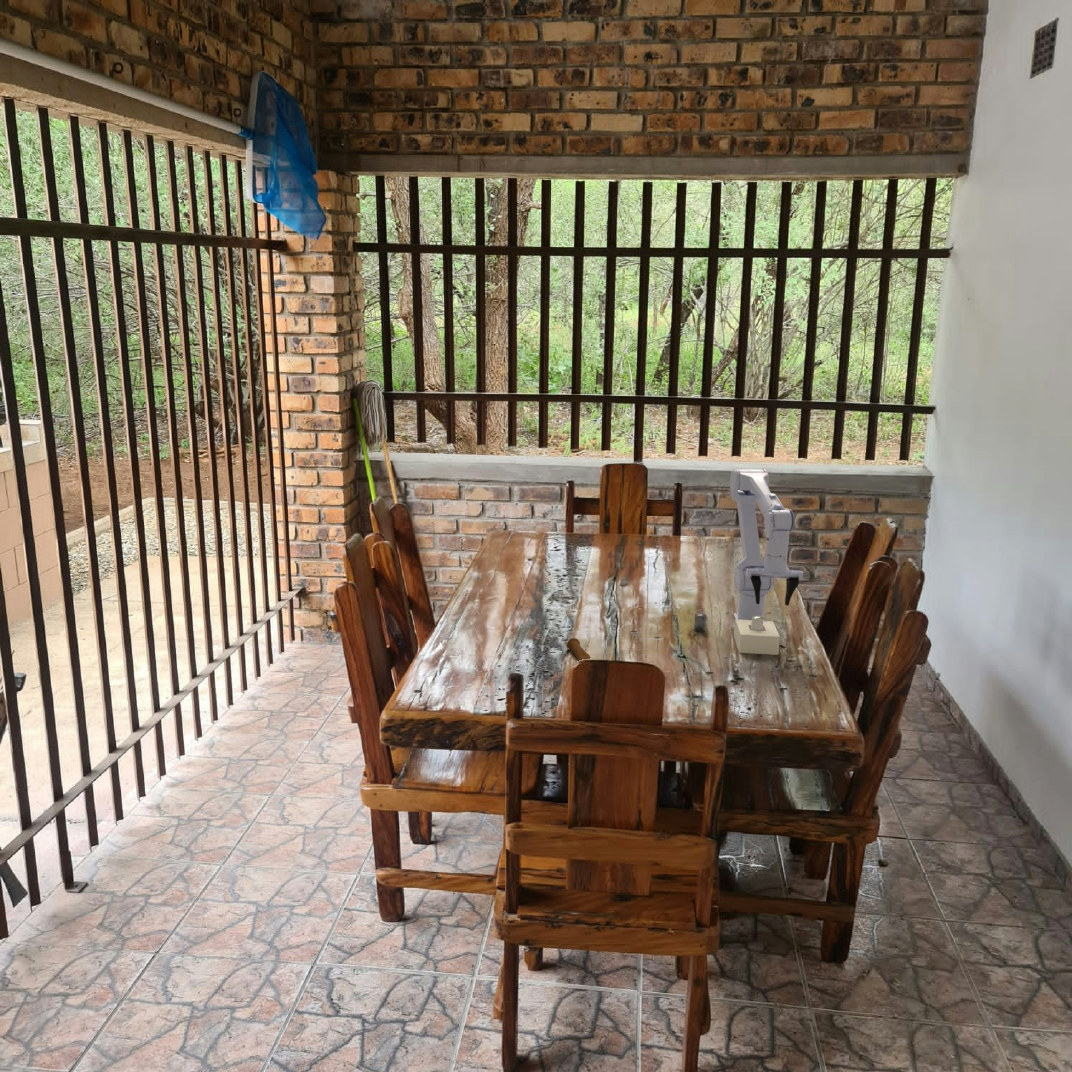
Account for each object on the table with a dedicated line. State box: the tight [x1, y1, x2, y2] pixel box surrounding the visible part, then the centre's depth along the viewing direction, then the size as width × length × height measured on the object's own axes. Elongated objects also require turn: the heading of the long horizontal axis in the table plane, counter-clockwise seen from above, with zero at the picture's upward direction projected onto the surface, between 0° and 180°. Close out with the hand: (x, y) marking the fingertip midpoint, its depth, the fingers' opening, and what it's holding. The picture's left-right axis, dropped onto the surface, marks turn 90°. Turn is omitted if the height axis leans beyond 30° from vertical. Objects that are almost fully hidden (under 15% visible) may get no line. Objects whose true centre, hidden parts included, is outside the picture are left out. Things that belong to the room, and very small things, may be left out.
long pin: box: [751, 615, 765, 631], centre depth 254 cm, size 3×3×8 cm
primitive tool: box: [566, 637, 592, 661], centre depth 240 cm, size 19×6×4 cm, turn 19°
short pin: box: [693, 612, 707, 633], centre depth 265 cm, size 3×3×4 cm
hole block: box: [733, 618, 781, 656], centre depth 254 cm, size 12×10×5 cm
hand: (772, 603), depth 256 cm, fingers open, 7 cm apart
